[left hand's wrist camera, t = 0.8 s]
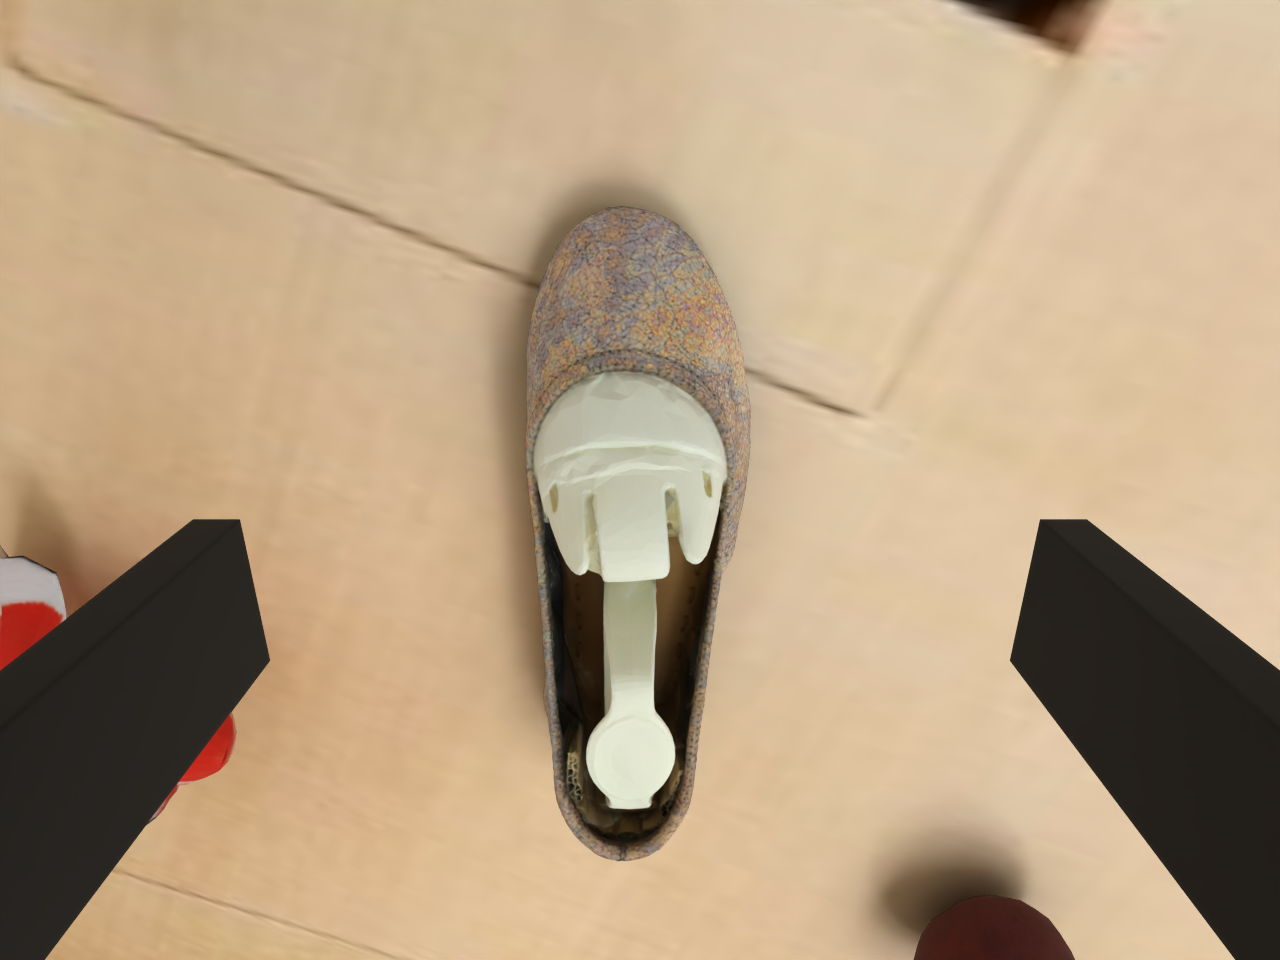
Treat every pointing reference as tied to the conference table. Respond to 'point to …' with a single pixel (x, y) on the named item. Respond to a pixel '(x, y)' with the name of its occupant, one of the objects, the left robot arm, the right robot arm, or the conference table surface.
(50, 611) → the fish
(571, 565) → the ballet flat
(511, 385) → the conference table surface
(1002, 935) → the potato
